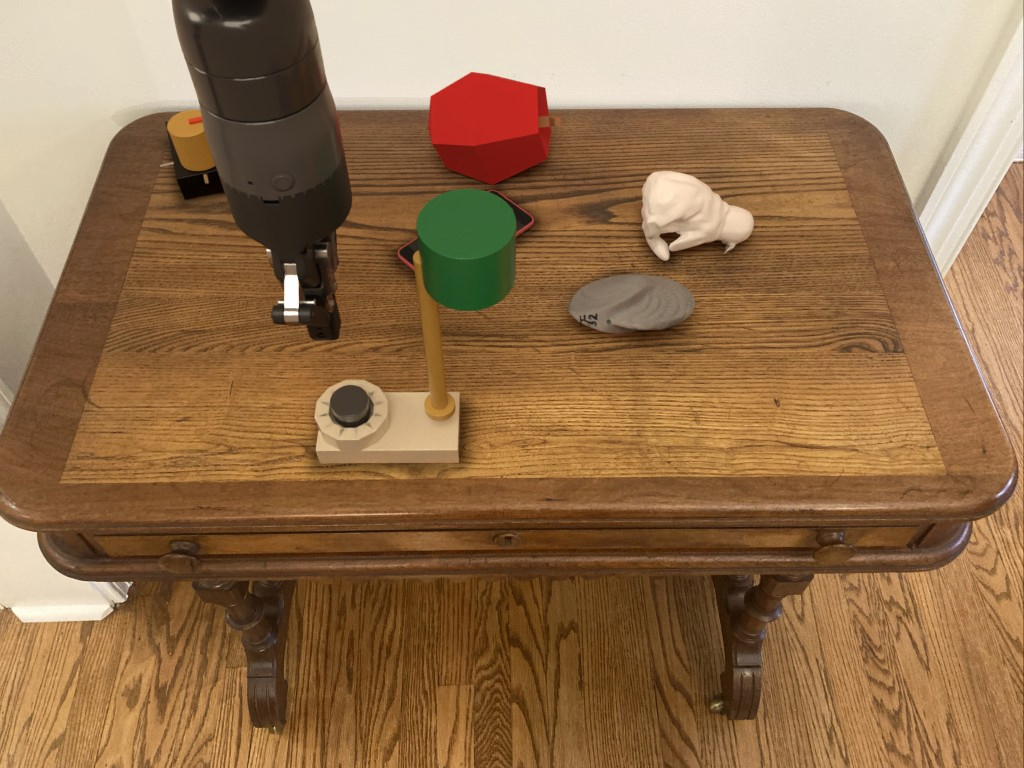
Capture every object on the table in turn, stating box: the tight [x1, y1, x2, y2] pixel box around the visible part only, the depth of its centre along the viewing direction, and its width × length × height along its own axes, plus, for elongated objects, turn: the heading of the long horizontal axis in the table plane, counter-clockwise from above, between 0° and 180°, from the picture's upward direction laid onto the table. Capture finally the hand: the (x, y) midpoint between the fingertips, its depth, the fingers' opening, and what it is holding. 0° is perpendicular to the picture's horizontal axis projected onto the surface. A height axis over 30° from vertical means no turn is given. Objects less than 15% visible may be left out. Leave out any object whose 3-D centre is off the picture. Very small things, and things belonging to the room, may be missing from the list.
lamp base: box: [313, 379, 462, 464], centre depth 74 cm, size 12×6×4 cm, turn 91°
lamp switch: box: [330, 385, 371, 427], centre depth 72 cm, size 3×3×2 cm
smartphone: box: [397, 189, 535, 273], centre depth 89 cm, size 7×1×14 cm
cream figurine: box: [640, 170, 755, 262], centre depth 86 cm, size 6×8×12 cm
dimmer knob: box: [166, 109, 216, 171], centre depth 90 cm, size 4×4×5 cm
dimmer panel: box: [159, 120, 225, 201], centre depth 94 cm, size 11×12×3 cm
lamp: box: [413, 188, 517, 421], centre depth 64 cm, size 8×6×22 cm
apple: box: [427, 71, 562, 186], centre depth 92 cm, size 12×12×15 cm
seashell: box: [567, 273, 696, 335], centre depth 81 cm, size 12×6×10 cm
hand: (326, 333), depth 65 cm, fingers closed
